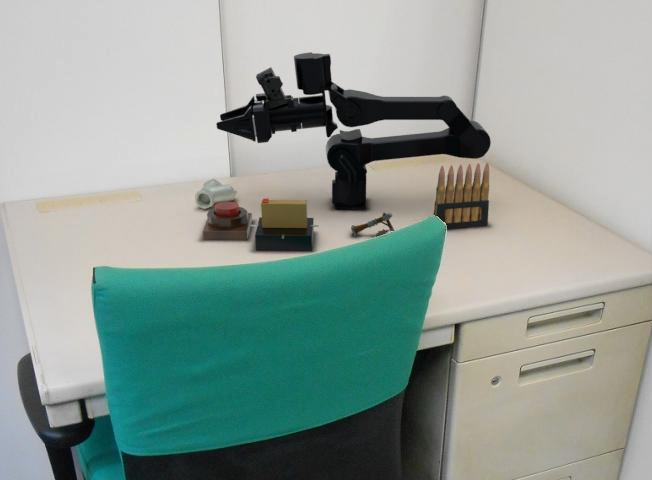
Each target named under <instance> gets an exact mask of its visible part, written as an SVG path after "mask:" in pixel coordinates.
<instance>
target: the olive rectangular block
mask: <svg viewBox="0 0 652 480" xmlns="http://www.w3.org/2000/svg"><path fill="white" fill-rule="evenodd" d="M260 209H261V210H260V212H261V217H262V228H307V218H308V200H307V199H270V198H268V197H267V198H266V197H263V198H262V199H261V203H260Z"/></svg>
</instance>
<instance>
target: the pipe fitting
mask: <svg viewBox="0 0 652 480" xmlns="http://www.w3.org/2000/svg"><path fill="white" fill-rule="evenodd" d="M237 193H238V192H237V189H235V187H233V185H232V184H230V183H229V184H228V183H227V184H222V183H221V182H220V181H218V180H217V179H215V178H211V179H208V180H207V181H205V182H204V183H203V186H202V187H201V189H200V190H198V191H196V193H195V196H194V197H195V198H194V201H195V203H194V204H195V205H196V206H198V207H199V208H200V209H202V210H206V209H209V208H211V207H213V206H214V205H216V204H217V203H220V202H234V200H235V197H236V194H237Z"/></svg>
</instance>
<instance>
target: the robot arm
mask: <svg viewBox="0 0 652 480" xmlns="http://www.w3.org/2000/svg"><path fill="white" fill-rule="evenodd" d="M331 59H332V57H331V54H330V53H319V52H318V53H317V52H316V53H313V52H311V51H310V52H302V53H298V54H295V55H294V56H293V63H294V71H295V80H296V81H295V82H296V88H297V89H298V90H300V91H302V94H303V95H306V96H299V97H294V96H292V94H286V95H285V92H284V91H283V89H282V87H283V86H284V83H283V82H282V79H281V76H279V75H276V73H275V71H274V70H273V69H274V68H272V66H270V67H268V68H266V69H264V70H263V71H261V72H259V73H257V74H256V76H255V78H256V80H257V83H258V84H259V85H260V87H261V89H262V90H263V92H264V93H262V92H261V93H255V95H253V96H252V97H251V98H250V100H249V101H248V102H247V104H245V105H243V106H241V107H238V108H234V109H231V110H230V111H226V112H223V113H221V114H220V115H219V117H220V121H217V122H216V129H217V130H220V131H223V132H226V133H229V134H232V135H235V136H239V137H241V138H244V139H247V140H250V141H252V142H257V144H264V143H269V141H270V140H271V139H272V137H273V135H275V134H276V133H277V132H285V131H291V133H296V132H297V131H298V130H303V129H304V130H305V129H313V128H325V134H326V137H327V138H329V139H328V140H327V142H326V144H325V155H326V160H327V164H328V166H329V167H330V168H331V169H332V170H334V179H332V180H331V203H332V204H333V205H334V210H367V209H368V204H367V173H368V169H367V165H368V164H370V163H373V162H377V161H379V162H380V161H388V160H398V159H409V158H418V157H428V156H441V155H447V156H450V157H455V158H461V159H472V160H477V159H481V158H484V157H485V155H486V154H487V153H488V152H489V150H490V148H491V144H492V143H491V142H492V141H491V137H490V135H489V133H488V132H487V131H486V129H485V128H484V126H482V125H481V124H480V122H478V121H475V120H470V119H469V118H468V117H467V116H466V114H465V113H464V112H463V111H462V110H461V109H460V108H459V106H457V104H456V102H455V101H454V100H453V98H452V97H450V96H449V95H441V96H381V95H378V94H377V95H376V94H374V93H371V92H366V91H363V90H362V91H361V90H356V89H351V88H348V89H344V88H342V87H341V86H340V85H338V84H337V83H335V82H333V81H332V70H331V65H332V60H331ZM326 91H327V93H328V97H329V102H330V103H331V104H332V105H333V106H331V105H329V104H327V101H326ZM333 107H334V110H335V115H336V118H337V120H338V122H339V123H340V124H342V125H343V126H344V127H345V128H356V127H361V126H362V127H363V126H367V125H371V124H374V123H377V122H380V121H443V123H445V124H446V126H447V128H445V129H442V130H440V131H432V132H420V133H412V134H411V133H409V134H401V135H391V136H381V137H366V136H363V135H362V131H361V129H360V128H356V129H352V130H342V129H341V130H339V133H336V134H334V132H335V131H336V130H338V128H339V125H338V123H336V122H335V121H334V115H333Z"/></svg>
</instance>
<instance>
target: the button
mask: <svg viewBox="0 0 652 480" xmlns="http://www.w3.org/2000/svg"><path fill="white" fill-rule="evenodd" d="M239 207H240V205H239V203H237V202H235V201H227V202H220V203H215V204H214V208H215V215H216V216H219V217H233V216H237V215H239Z"/></svg>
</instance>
